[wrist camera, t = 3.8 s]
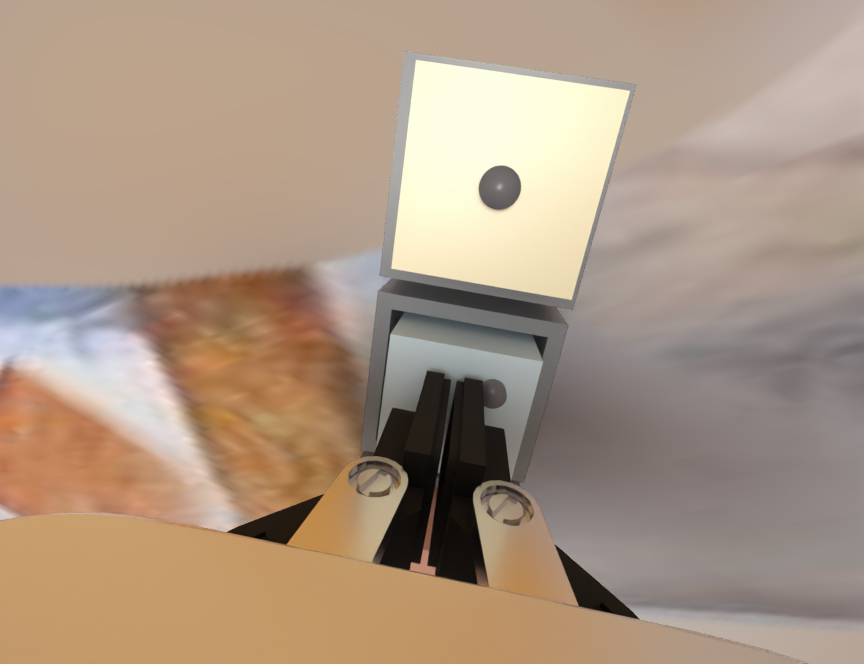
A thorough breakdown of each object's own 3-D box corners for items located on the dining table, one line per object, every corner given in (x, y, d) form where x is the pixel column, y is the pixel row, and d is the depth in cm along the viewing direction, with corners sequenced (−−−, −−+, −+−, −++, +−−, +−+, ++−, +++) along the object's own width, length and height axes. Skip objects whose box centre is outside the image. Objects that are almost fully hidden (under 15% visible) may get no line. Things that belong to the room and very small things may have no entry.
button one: (581, 124, 12) (635, 86, 8) (545, 270, 13) (574, 303, 9) (435, 102, 12) (414, 55, 8) (415, 248, 13) (388, 270, 9)
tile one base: (602, 109, 13) (636, 84, 10) (555, 288, 15) (572, 309, 12) (420, 82, 13) (404, 51, 10) (397, 261, 15) (379, 275, 12)
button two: (526, 320, 15) (544, 366, 11) (502, 420, 16) (510, 493, 12) (412, 300, 15) (388, 337, 11) (398, 400, 17) (372, 465, 13)
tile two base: (551, 301, 15) (568, 325, 12) (516, 434, 17) (524, 482, 14) (396, 274, 15) (378, 291, 13) (379, 408, 17) (360, 449, 15)
